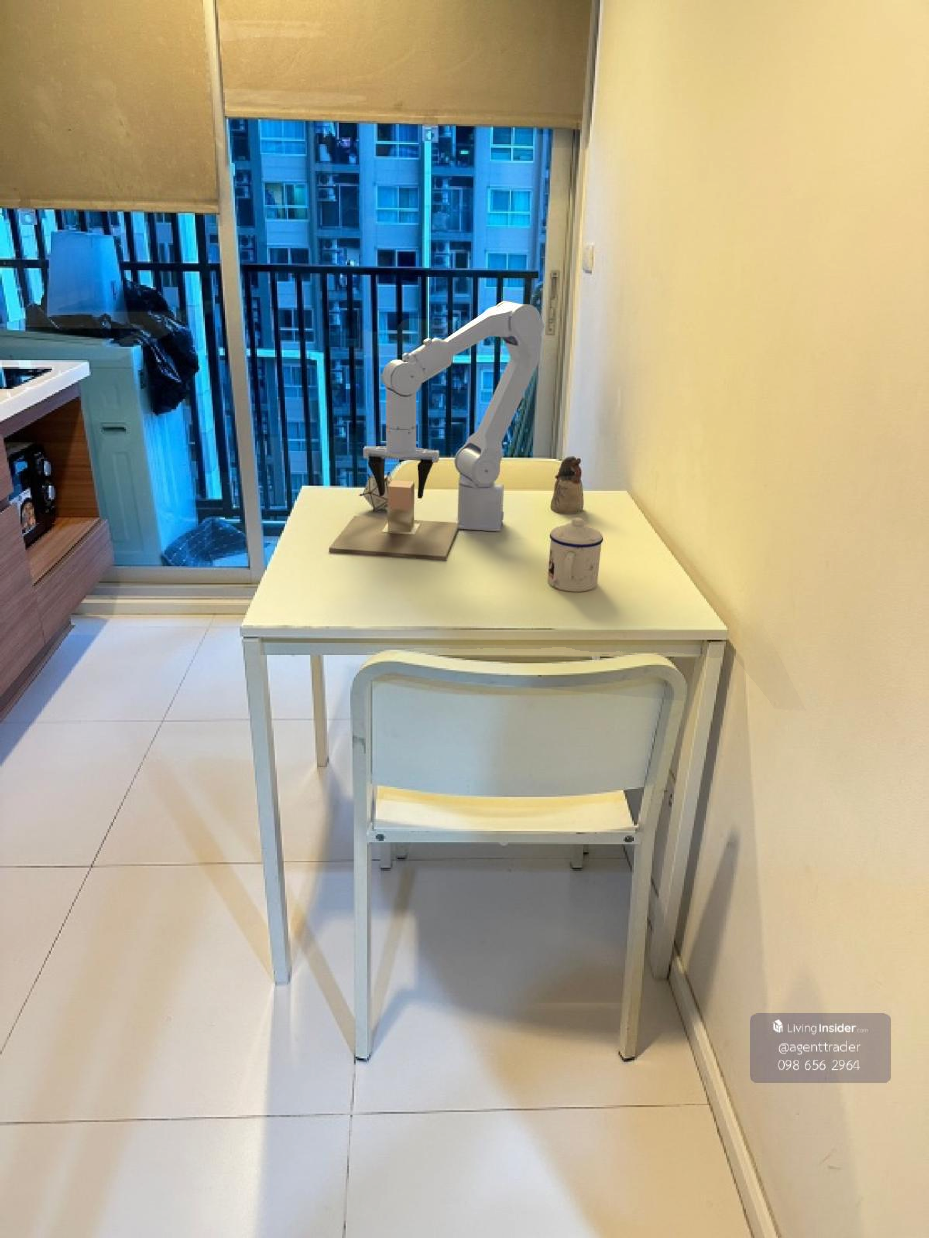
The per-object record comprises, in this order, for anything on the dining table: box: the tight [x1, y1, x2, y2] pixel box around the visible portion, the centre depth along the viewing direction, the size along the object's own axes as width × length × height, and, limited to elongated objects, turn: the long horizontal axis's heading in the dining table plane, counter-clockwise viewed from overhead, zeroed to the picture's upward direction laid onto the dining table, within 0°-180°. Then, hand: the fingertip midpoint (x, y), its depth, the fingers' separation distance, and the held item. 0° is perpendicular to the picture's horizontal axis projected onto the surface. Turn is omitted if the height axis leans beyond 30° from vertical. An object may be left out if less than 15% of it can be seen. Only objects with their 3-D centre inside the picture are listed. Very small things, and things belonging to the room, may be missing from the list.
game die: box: [358, 470, 393, 514], centre depth 178 cm, size 9×8×10 cm
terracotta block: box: [387, 479, 415, 510], centre depth 163 cm, size 4×4×4 cm
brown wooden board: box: [328, 515, 459, 561], centre depth 163 cm, size 22×20×1 cm
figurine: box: [549, 455, 585, 515], centre depth 182 cm, size 7×7×12 cm
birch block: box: [387, 504, 415, 532], centre depth 165 cm, size 4×4×4 cm
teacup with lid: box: [547, 517, 604, 593], centre depth 141 cm, size 12×9×12 cm
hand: (401, 495), depth 163 cm, fingers open, 7 cm apart
